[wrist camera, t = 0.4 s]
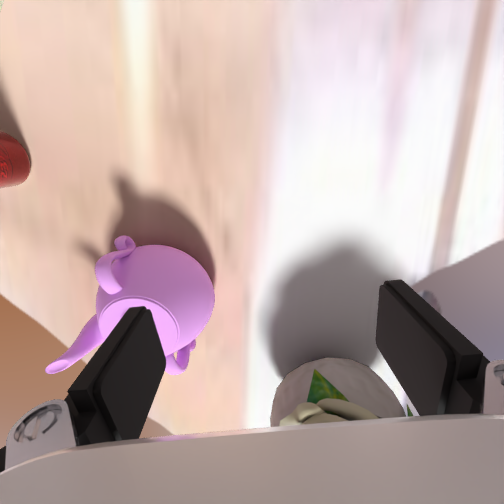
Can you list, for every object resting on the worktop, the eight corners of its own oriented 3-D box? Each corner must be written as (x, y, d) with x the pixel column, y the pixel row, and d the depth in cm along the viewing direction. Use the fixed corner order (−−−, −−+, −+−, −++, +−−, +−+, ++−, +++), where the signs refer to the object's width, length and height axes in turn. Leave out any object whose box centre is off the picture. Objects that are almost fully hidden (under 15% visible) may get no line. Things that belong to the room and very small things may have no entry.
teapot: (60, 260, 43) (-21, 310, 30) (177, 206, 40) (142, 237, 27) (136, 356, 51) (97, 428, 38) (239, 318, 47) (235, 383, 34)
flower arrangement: (317, 298, 46) (382, 450, 23) (410, 366, 52) (534, 540, 29) (231, 382, 53) (217, 559, 30) (322, 433, 59) (366, 613, 36)
